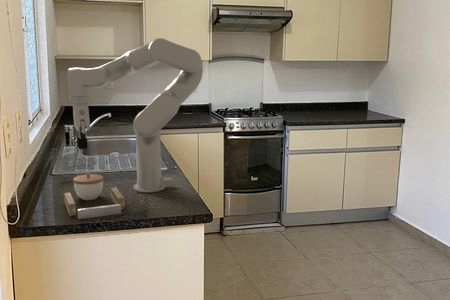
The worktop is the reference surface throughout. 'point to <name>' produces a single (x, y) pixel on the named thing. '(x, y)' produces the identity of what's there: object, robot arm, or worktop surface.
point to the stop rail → (99, 211)
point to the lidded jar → (88, 186)
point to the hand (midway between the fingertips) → (82, 147)
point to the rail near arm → (117, 197)
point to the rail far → (70, 204)
